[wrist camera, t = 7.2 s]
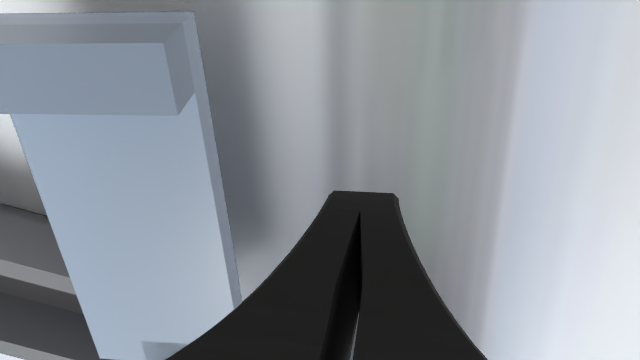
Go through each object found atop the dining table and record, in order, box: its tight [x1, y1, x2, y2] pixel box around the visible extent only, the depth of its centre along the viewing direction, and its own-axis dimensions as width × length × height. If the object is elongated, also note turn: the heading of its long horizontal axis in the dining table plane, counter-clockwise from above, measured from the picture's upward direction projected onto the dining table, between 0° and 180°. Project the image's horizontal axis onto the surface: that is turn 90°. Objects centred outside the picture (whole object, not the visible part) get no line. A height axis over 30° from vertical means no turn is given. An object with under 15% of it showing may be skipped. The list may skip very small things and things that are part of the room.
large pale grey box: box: [0, 204, 115, 360], centre depth 27 cm, size 16×6×3 cm, turn 77°
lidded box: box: [0, 11, 242, 360], centre depth 21 cm, size 16×6×2 cm, turn 3°
